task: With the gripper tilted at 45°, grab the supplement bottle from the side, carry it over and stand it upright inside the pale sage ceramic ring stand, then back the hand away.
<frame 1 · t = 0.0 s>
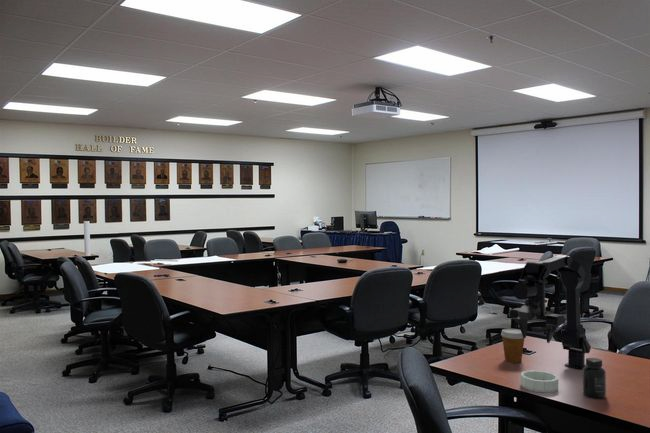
hand: (536, 340, 190), 15 cm above the table, tool pointing down, fingers open, 9 cm apart
disposable coffee cup: (513, 360, 216), on the table
ring stand: (539, 386, 184), on the table
supplement bottle: (594, 396, 175), on the table
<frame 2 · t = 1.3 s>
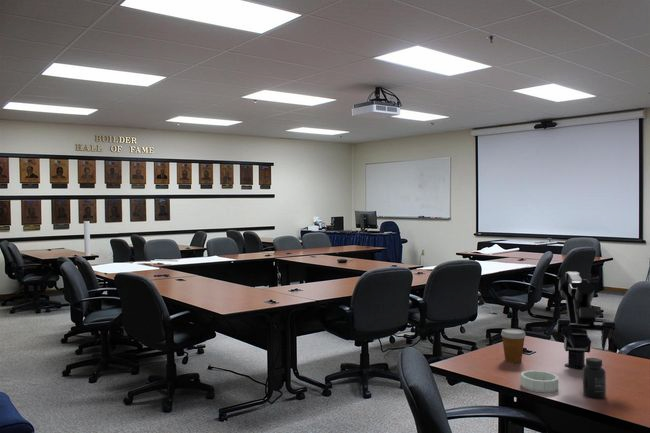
hand: (588, 348, 183), 13 cm above the table, tool tilted 45°, fingers open, 9 cm apart
nothing on the table moved.
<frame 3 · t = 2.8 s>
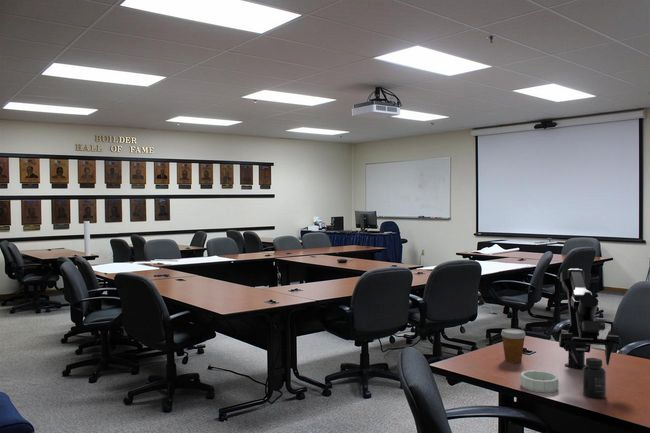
hand: (592, 363, 178), 10 cm above the table, tool tilted 45°, fingers open, 9 cm apart
nothing on the table moved.
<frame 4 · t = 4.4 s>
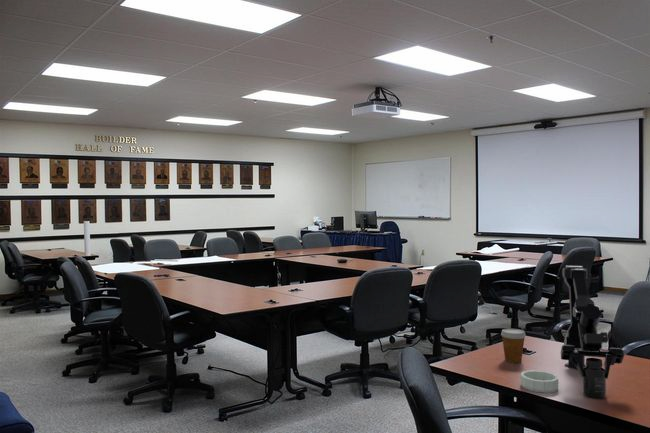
hand: (595, 377, 174), 7 cm above the table, tool tilted 45°, fingers closed on supplement bottle, 7 cm apart
supplement bottle: (594, 396, 175), on the table, touching gripper
everything else where it was.
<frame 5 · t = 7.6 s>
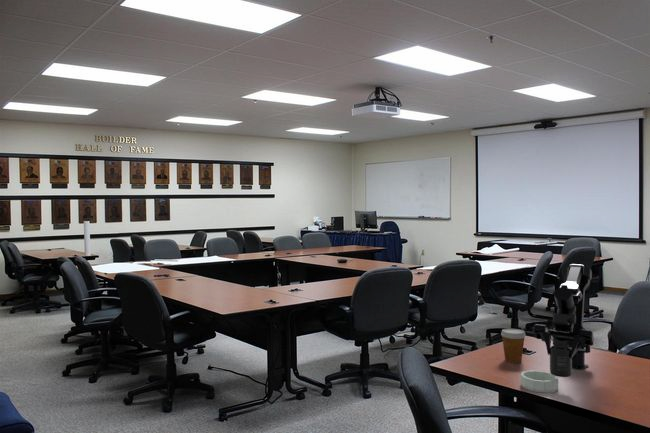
hand: (559, 355, 179), 12 cm above the table, tool tilted 45°, fingers closed on supplement bottle, 7 cm apart
supplement bottle: (560, 375, 180), point 5 cm above the table, touching gripper
everything else where it was.
when the fingers open (8 cm above the table, at t = 10.3 s): supplement bottle stays where it is, resting on ring stand.
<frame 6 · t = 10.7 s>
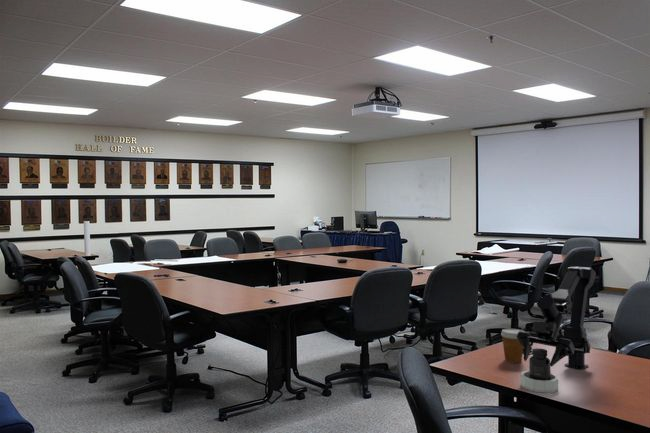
hand: (537, 362, 183), 9 cm above the table, tool tilted 45°, fingers open, 9 cm apart
supplement bottle: (539, 384, 184), point 1 cm above the table, touching ring stand
everything else where it was.
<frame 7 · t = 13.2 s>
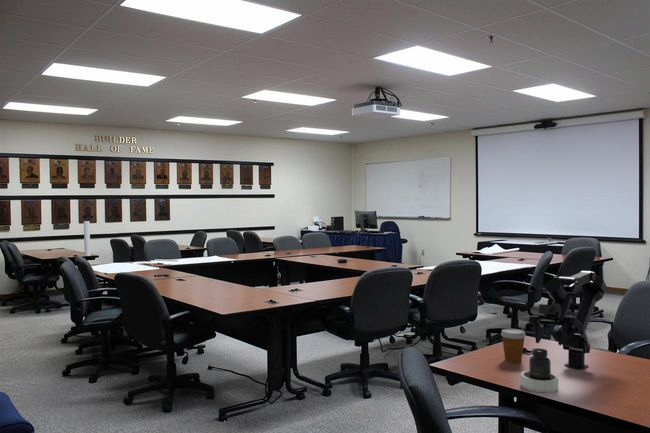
hand: (547, 343, 192), 13 cm above the table, tool tilted 40°, fingers open, 9 cm apart
nothing on the table moved.
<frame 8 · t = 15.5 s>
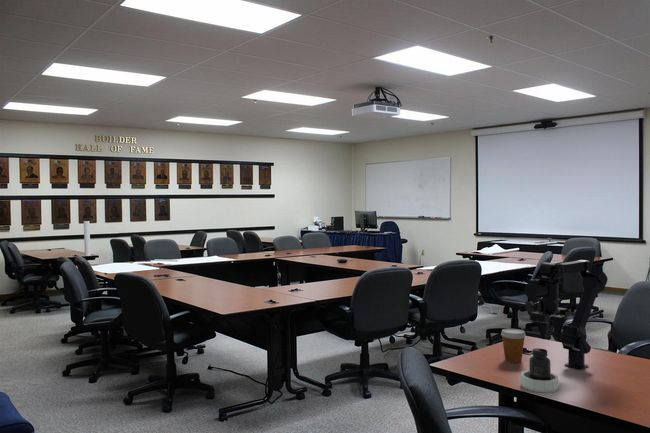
hand: (549, 337, 201), 13 cm above the table, tool pointing down, fingers open, 9 cm apart
nothing on the table moved.
at the end: supplement bottle 0.1 cm off-centre on the ring stand, point 0.6 cm above the ring stand's base; supplement bottle tilted 0°; the gripper is holding nothing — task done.
